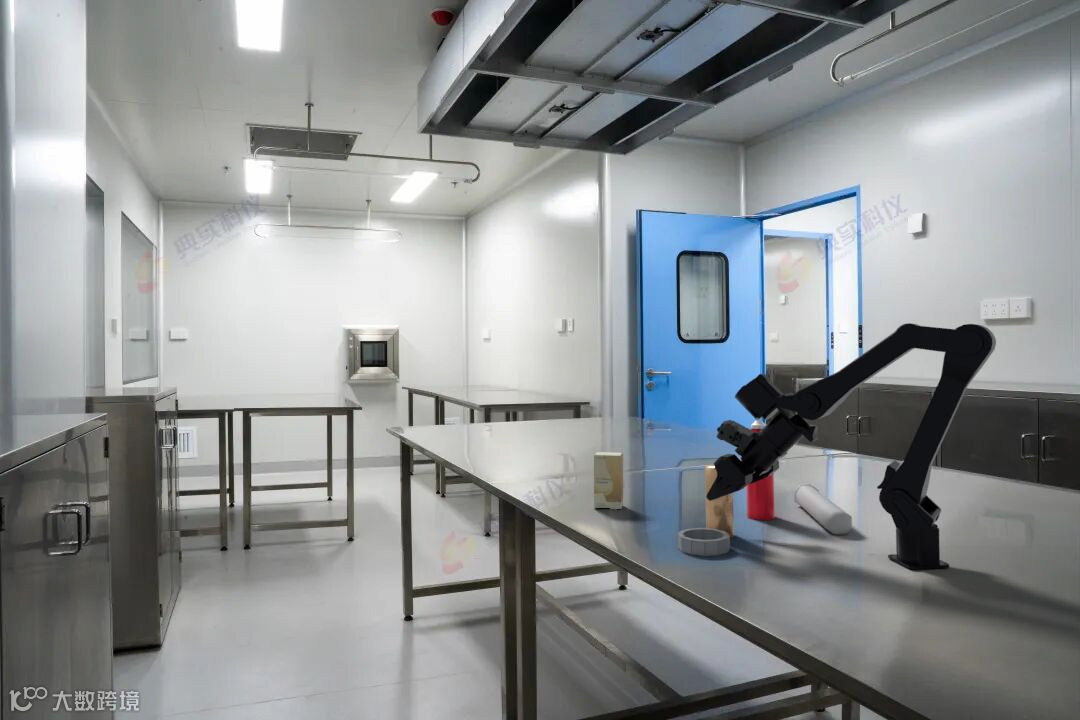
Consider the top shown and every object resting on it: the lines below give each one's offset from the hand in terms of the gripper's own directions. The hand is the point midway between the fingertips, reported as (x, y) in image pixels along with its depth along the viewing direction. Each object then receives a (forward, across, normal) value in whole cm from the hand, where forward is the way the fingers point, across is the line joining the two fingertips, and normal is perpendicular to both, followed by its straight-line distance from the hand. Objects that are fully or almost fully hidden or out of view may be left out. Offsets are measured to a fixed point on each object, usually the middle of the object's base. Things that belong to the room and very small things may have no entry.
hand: (718, 494), depth 132 cm
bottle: (+4, -18, +7) cm, 19 cm away
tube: (-4, -21, +15) cm, 26 cm away
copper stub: (+5, 0, +6) cm, 8 cm away
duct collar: (+4, +10, +6) cm, 13 cm away
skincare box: (+27, -9, -15) cm, 32 cm away
